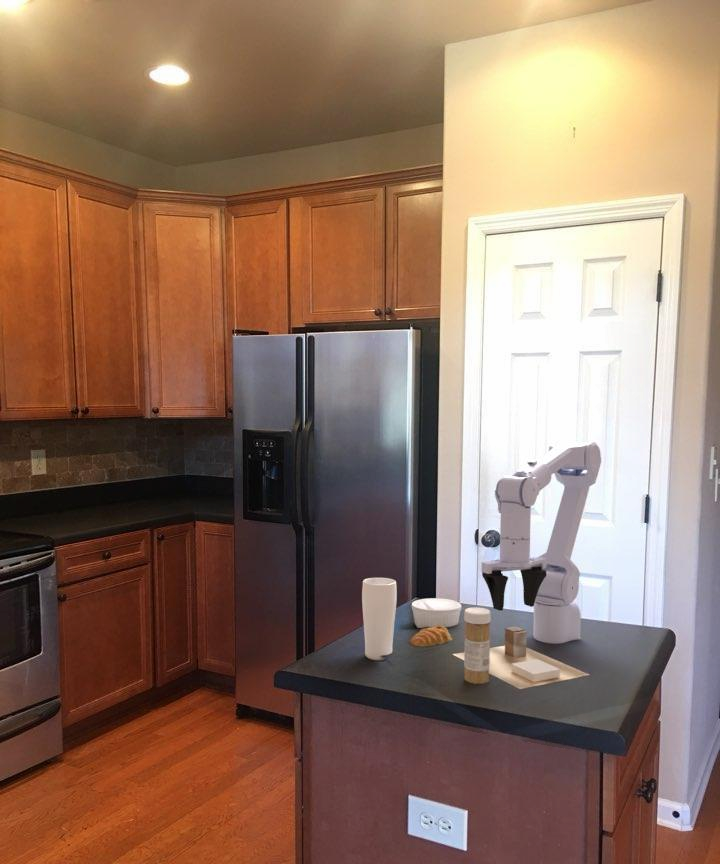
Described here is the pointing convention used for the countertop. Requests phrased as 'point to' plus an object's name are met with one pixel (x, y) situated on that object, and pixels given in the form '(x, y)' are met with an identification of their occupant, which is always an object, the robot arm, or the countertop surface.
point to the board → (502, 661)
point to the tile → (535, 670)
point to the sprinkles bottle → (477, 645)
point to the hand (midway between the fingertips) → (513, 607)
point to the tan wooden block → (515, 642)
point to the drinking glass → (378, 616)
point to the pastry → (431, 636)
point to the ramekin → (436, 612)
